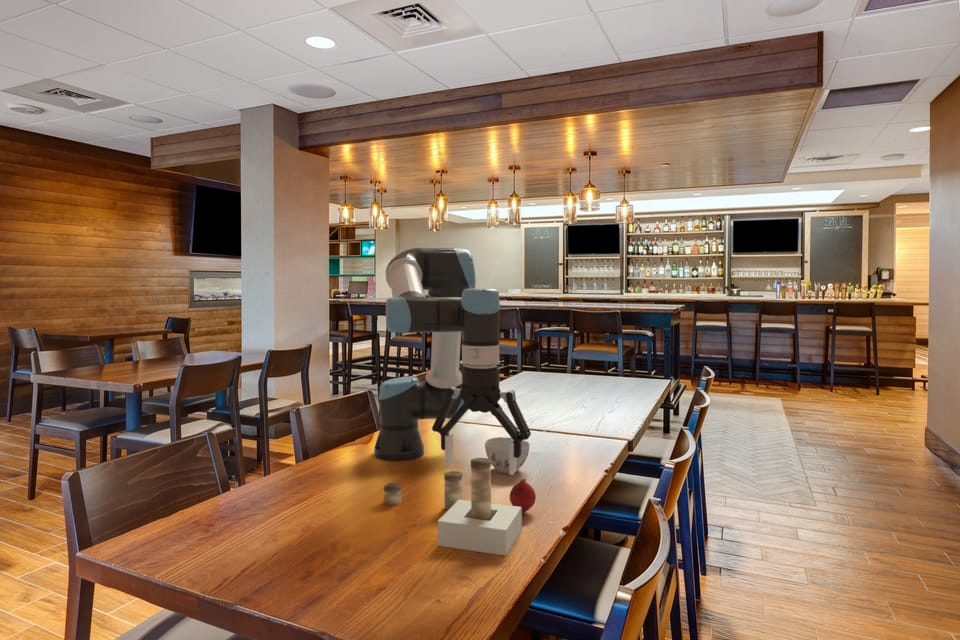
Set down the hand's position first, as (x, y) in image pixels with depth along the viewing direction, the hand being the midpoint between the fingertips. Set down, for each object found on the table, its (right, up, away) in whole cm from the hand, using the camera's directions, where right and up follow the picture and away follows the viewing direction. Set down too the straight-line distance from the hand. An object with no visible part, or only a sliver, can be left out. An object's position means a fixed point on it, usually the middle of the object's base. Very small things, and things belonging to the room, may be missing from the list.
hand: (480, 469), depth 115 cm
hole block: (0, -14, 0) cm, 14 cm away
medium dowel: (-6, -13, +16) cm, 22 cm away
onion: (+10, -14, +13) cm, 21 cm away
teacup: (+8, -12, +44) cm, 46 cm away
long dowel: (0, -14, 0) cm, 14 cm away
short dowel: (-21, -13, +20) cm, 32 cm away
